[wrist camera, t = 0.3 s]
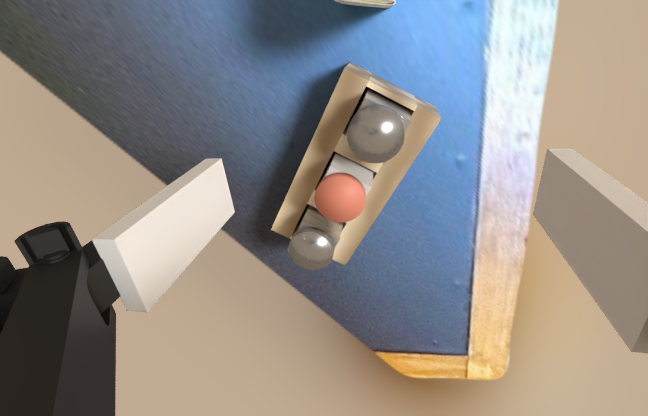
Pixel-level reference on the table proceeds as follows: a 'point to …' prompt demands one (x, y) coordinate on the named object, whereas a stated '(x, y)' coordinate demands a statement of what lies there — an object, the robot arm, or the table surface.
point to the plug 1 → (314, 240)
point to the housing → (331, 140)
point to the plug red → (343, 189)
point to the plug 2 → (377, 128)
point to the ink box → (369, 3)
